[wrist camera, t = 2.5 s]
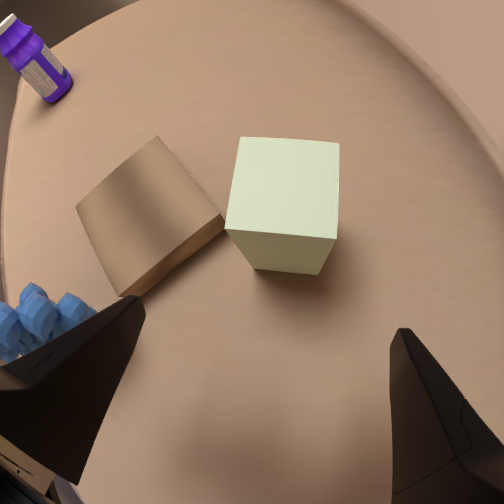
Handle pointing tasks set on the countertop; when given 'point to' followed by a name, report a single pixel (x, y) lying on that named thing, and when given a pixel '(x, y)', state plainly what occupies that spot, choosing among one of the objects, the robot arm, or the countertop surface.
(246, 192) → the sage block
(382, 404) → the countertop surface
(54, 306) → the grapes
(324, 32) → the countertop surface
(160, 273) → the walnut plinth
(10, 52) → the bottle
